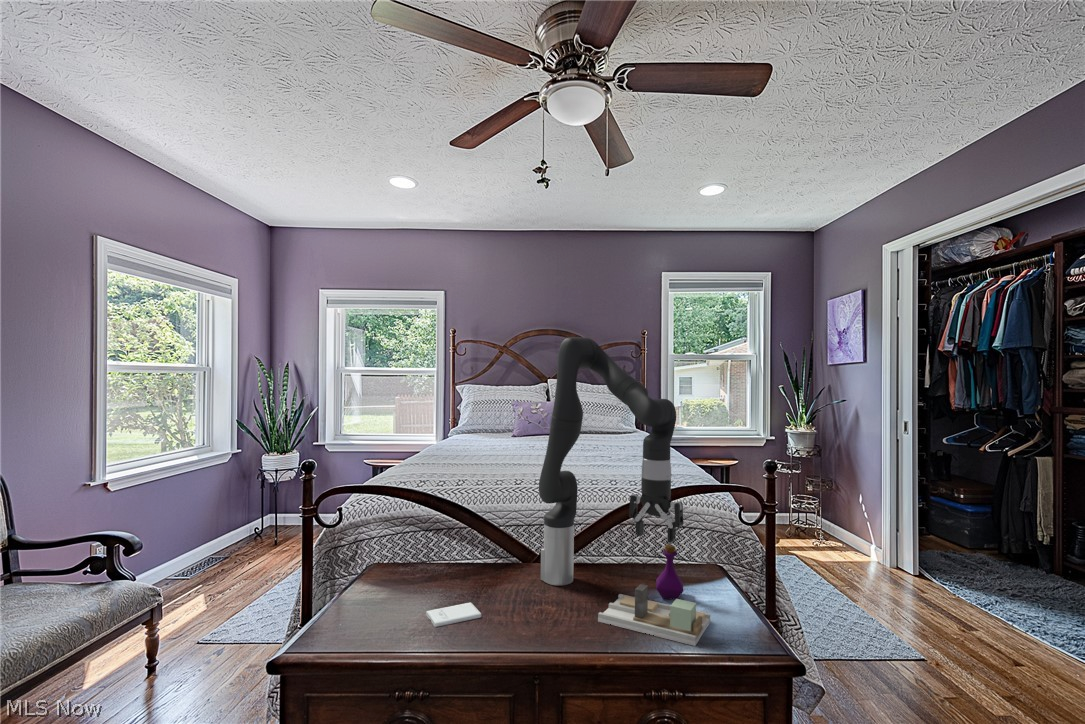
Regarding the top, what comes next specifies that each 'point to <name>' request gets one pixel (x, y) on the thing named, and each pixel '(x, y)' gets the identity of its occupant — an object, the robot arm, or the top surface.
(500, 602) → the top surface
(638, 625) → the lane board
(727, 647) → the top surface
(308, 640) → the top surface
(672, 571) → the perfume bottle
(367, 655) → the top surface
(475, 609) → the external hard drive
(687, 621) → the block
